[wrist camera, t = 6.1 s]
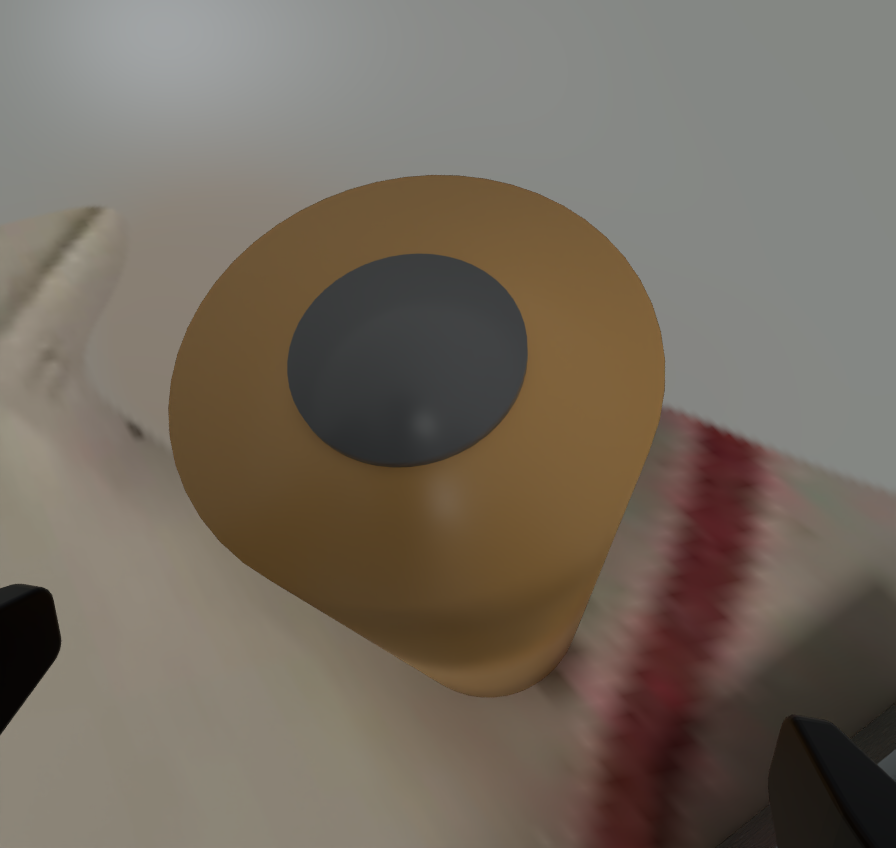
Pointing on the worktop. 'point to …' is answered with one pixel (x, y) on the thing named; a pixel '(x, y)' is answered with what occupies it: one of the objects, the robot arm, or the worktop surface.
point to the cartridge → (425, 418)
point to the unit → (884, 740)
